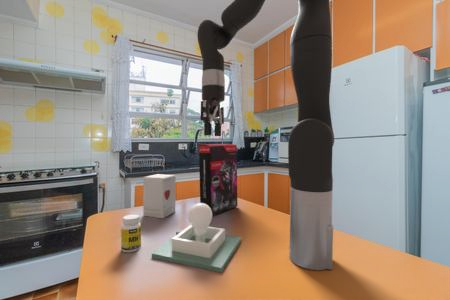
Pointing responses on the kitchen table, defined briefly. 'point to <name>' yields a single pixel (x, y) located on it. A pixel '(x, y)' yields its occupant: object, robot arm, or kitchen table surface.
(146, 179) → the supplement box
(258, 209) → the kitchen table surface
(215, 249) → the board
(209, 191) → the graphics card box
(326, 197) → the robot arm
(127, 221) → the supplement bottle
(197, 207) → the lightbulb
